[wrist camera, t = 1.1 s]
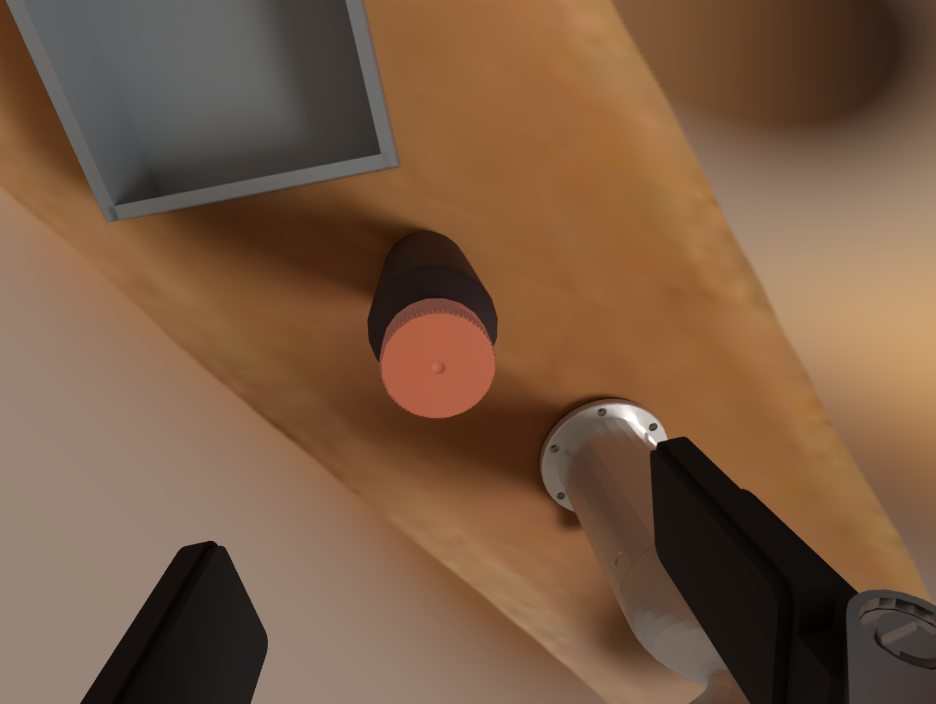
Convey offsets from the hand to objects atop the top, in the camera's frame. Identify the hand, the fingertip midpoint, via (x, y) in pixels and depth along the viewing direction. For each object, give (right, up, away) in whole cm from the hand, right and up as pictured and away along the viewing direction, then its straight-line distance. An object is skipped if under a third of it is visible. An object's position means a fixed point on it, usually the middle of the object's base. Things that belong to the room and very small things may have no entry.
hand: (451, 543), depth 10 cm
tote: (-15, +24, +21) cm, 36 cm away
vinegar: (-3, +11, +28) cm, 30 cm away
